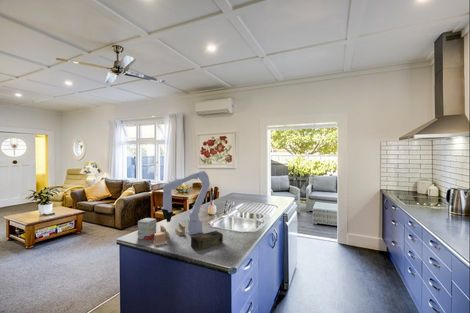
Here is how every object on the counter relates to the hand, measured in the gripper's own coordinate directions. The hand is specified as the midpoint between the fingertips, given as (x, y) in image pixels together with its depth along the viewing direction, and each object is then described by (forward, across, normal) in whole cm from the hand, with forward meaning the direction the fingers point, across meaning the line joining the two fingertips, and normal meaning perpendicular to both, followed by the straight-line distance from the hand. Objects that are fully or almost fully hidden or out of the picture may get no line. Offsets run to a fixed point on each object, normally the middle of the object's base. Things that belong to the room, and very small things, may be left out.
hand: (167, 220), depth 155 cm
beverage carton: (+10, +30, +17) cm, 36 cm away
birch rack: (+9, +3, +3) cm, 10 cm away
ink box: (+10, 0, -13) cm, 16 cm away
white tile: (+9, +13, -8) cm, 18 cm away
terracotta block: (+9, +13, -8) cm, 17 cm away
